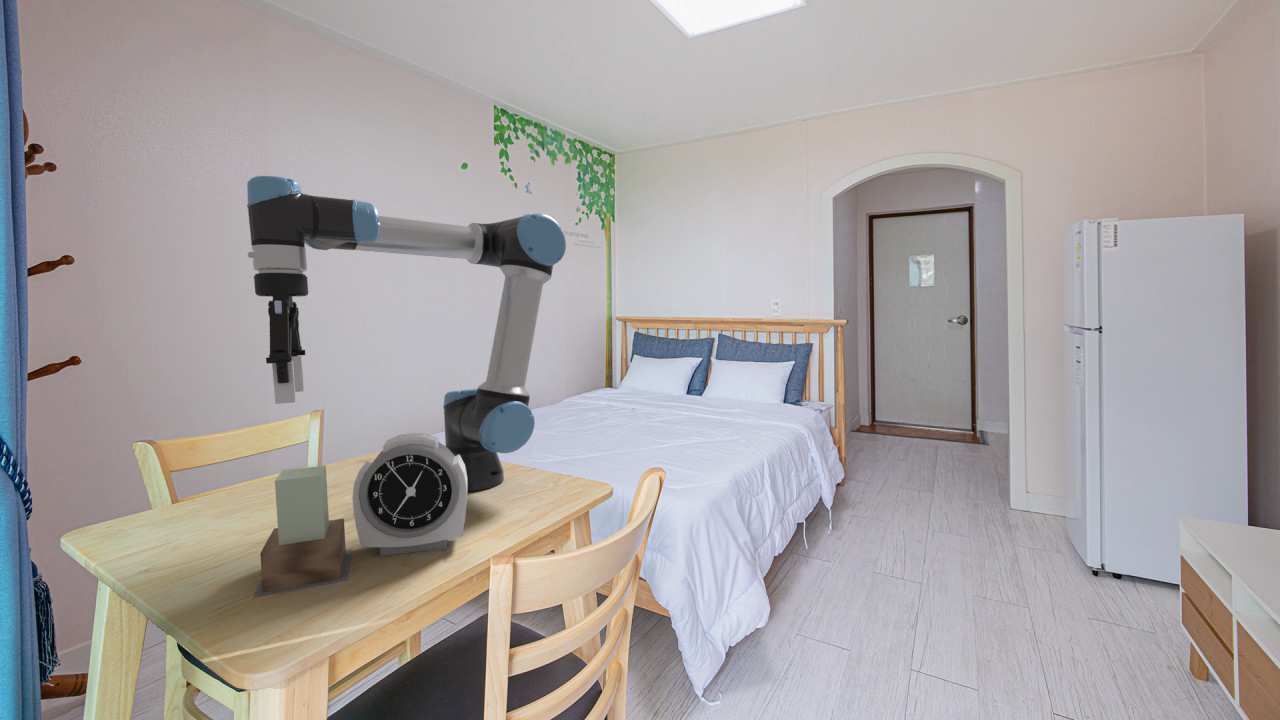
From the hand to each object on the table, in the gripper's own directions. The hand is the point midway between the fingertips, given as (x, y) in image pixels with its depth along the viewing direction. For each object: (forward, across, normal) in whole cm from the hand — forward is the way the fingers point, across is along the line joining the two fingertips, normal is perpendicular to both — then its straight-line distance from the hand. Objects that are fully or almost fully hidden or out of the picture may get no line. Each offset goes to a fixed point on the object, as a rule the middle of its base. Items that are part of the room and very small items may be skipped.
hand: (290, 397), depth 92 cm
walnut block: (+26, +12, +2) cm, 29 cm away
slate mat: (+27, +12, +2) cm, 30 cm away
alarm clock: (+27, +10, +18) cm, 34 cm away
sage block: (+20, +12, +2) cm, 24 cm away
